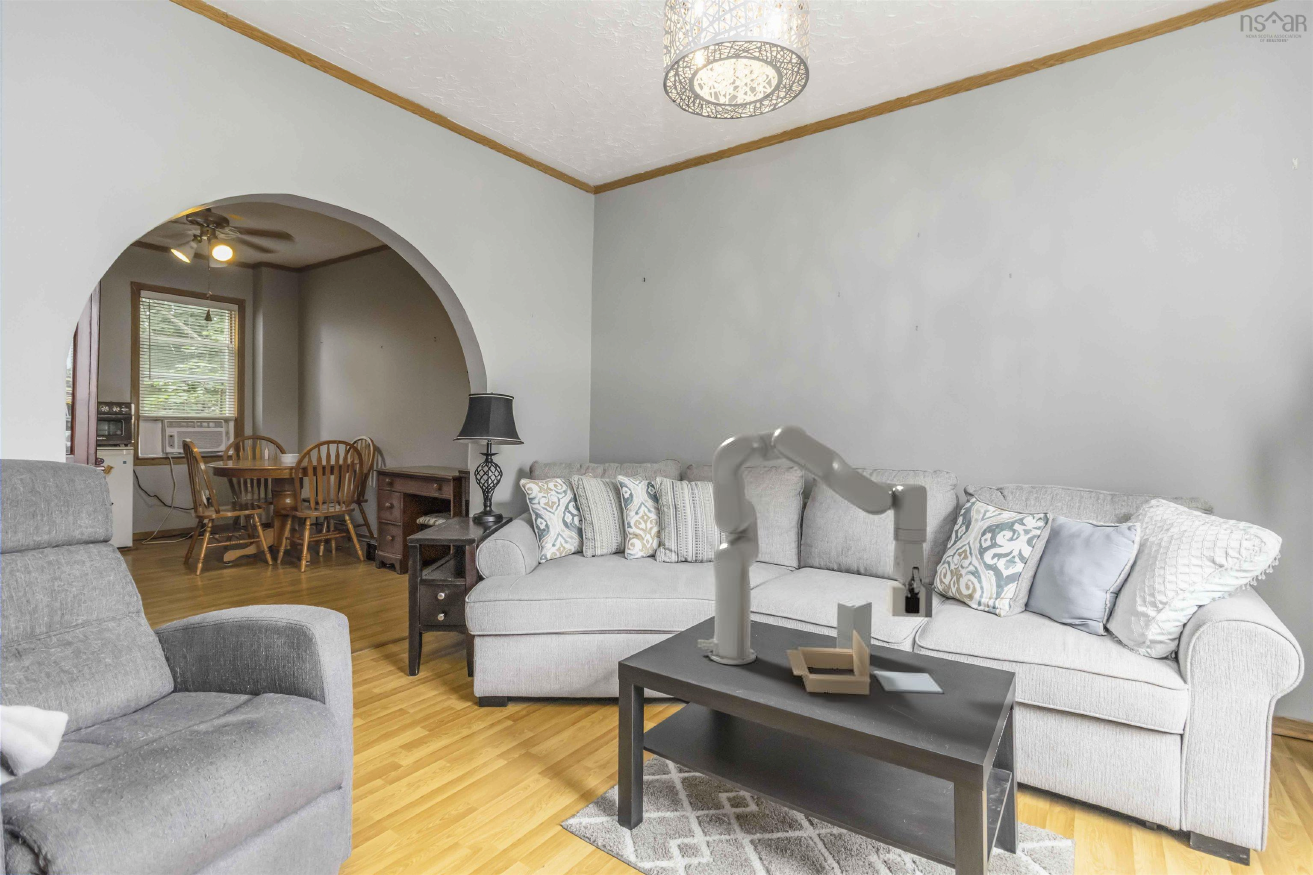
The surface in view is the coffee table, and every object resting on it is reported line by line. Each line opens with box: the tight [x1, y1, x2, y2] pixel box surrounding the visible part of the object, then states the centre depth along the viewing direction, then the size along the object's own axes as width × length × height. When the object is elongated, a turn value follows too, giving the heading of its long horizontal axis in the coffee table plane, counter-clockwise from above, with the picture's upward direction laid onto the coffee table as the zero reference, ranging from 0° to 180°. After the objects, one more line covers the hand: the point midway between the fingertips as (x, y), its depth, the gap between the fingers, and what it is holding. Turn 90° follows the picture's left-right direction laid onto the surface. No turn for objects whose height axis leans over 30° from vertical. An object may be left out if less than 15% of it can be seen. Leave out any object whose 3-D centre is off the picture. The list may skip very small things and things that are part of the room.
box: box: [886, 581, 934, 619], centre depth 160 cm, size 9×5×7 cm, turn 85°
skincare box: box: [835, 596, 873, 655], centre depth 179 cm, size 8×6×15 cm
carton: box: [786, 630, 871, 695], centre depth 162 cm, size 17×21×10 cm
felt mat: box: [873, 670, 943, 694], centre depth 160 cm, size 13×11×1 cm
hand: (908, 608), depth 160 cm, fingers closed on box, 5 cm apart
